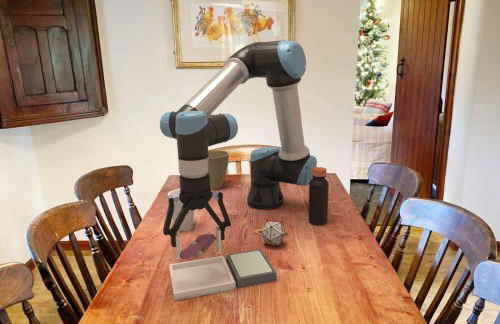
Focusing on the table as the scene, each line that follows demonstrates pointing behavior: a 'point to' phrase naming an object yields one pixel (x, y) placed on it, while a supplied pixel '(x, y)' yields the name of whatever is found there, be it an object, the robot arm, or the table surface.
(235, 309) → the table surface
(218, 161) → the plant pot
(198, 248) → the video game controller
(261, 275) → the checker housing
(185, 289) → the tray
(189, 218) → the foam cup
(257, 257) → the pale green flat panel
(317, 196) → the bottle
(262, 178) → the robot arm
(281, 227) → the game die
